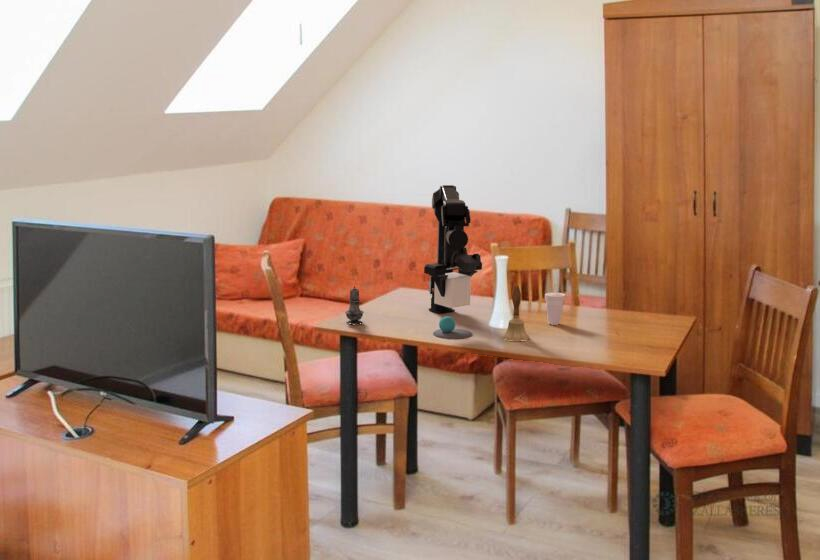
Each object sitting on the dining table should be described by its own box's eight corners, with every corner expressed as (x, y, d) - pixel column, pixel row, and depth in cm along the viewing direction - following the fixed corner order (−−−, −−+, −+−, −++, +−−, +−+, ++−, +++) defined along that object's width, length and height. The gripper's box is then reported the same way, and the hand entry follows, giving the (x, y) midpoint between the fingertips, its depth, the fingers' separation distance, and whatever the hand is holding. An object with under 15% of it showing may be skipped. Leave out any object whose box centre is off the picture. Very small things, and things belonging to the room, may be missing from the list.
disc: (454, 327, 305) (454, 326, 305) (480, 334, 296) (480, 334, 296) (425, 332, 297) (425, 332, 297) (451, 341, 288) (451, 340, 288)
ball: (460, 323, 296) (454, 334, 300) (452, 311, 299) (446, 322, 302) (448, 326, 293) (441, 337, 297) (439, 313, 296) (433, 325, 299)
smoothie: (566, 323, 311) (568, 280, 309) (560, 327, 306) (562, 283, 303) (547, 320, 314) (548, 278, 311) (541, 325, 308) (542, 281, 305)
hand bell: (503, 341, 288) (505, 289, 285) (500, 334, 296) (502, 283, 293) (531, 342, 288) (533, 289, 285) (528, 334, 297) (529, 283, 293)
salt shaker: (361, 325, 305) (361, 288, 303) (343, 324, 306) (342, 287, 304) (365, 321, 311) (365, 284, 309) (347, 320, 312) (347, 283, 310)
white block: (453, 300, 300) (454, 272, 298) (470, 304, 294) (470, 276, 293) (434, 303, 295) (434, 274, 294) (450, 308, 290) (451, 279, 288)
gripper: (447, 250, 279) (447, 303, 282) (495, 244, 291) (493, 295, 294) (423, 245, 288) (422, 297, 291) (470, 239, 299) (469, 289, 302)
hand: (452, 294), depth 294 cm, fingers closed on white block, 8 cm apart
